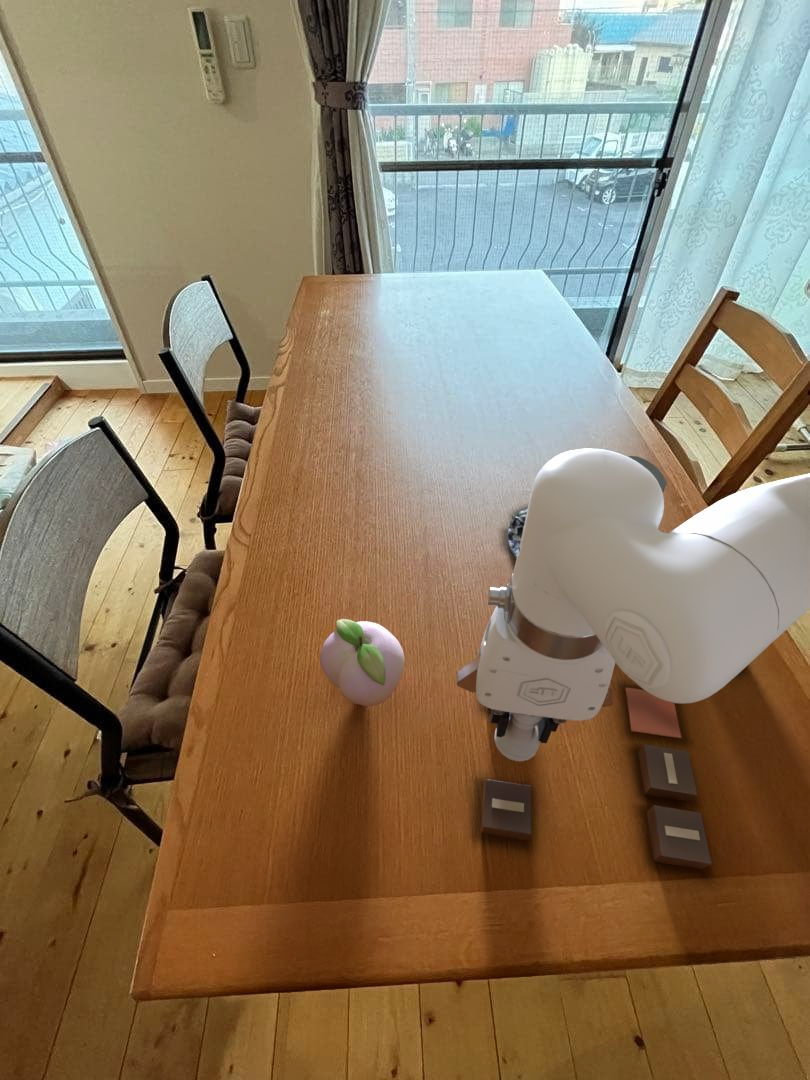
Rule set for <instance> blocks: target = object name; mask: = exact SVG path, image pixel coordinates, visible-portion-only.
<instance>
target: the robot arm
mask: <svg viewBox="0 0 810 1080" xmlns="http://www.w3.org/2000/svg"><path fill="white" fill-rule="evenodd" d="M527 508H528V509H527ZM527 508H526V509H527V514H526V518H525V523H524V528H523V532H522V537H521V541H520V546H519V551H518V555H517V559H516V560H515V565H514V570H513V573H511V575H510V579H509V583H506V584H505V586H499V587H493V586H490V587H489V590H488V597H487V598H488V599H487V605H488V606H490V607H495V608H494V610H493V612H492V614H491V616H490V618H489V621H488V623H487V626H486V628H485V631H484V634H483V637H482V641H481V644H480V648H479V652H478V656H477V657H476V658H474V659H473V660H471V661H470V662H468V663H467V664H466V665H464V666H463V667H462V668H460V669H459V670H457V674H456V675H457V676H456V686H457V687H458V688H461V689H463V690H465V691H468V692H470V693H472V694H473V693H476V694H475V695H476V701H478V703H479V704H481V705H482V706H484V707H485V708H488V709H490V720H489V722H490V724H495V725H496V729H497V737H502V736H505V732H506V729H507V726H508V722H509V717H510V712H513V713H520V714H527V715H534V716H541V717H543V718H542V720H540V721H539V722H538V724H537V729H538V741H540V742H539V743H541V744H547V743H548V742H549V739H550V736H551V733H552V732H553V733H555V732H557V730H558V728H559V725H560V724H565V723H567V721H577V722H578V721H579V722H580V721H581V722H582V721H588V720H591V719H593V718H594V717H596V716H597V715H598V714H599V712H600V711H601V708H608V707H612V706H613V705H614V702H613V694H612V690H611V687H610V685H611V681H612V678H613V674H614V670H615V666H616V665H617V666H618V668H619V669H620V670H621V671H622V672H623V674H625V675H626V676H627V677H628V678H629V679H631V680H632V681H633V682H634V683H636V685H637V686H639V687H640V688H641V689H642V690H645V691H647V692H648V693H650V694H652V695H654V696H656V697H658V698H660V699H662V700H665V701H669V702H673V703H674V704H693V703H696V702H700V701H704V700H705V699H708V698H710V697H711V696H713V695H714V694H716V693H718V692H719V691H720V690H722V689H723V688H724V687H725V686H727V685H728V684H729V683H730V682H731V681H732V680H733V679H735V678H736V677H737V676H738V675H739V674H740V673H741V672H742V671H743V670H744V669H745V668H747V667H748V665H750V664H751V663H752V662H753V661H754V660H755V659H757V657H759V655H761V654H762V653H763V652H764V651H765V650H766V649H767V648H768V647H769V646H770V645H771V644H772V643H774V642H775V641H776V640H777V639H778V638H779V637H781V636H782V634H784V633H785V632H786V631H787V630H788V629H789V628H790V627H791V626H792V625H793V624H794V623H796V622H797V621H798V620H799V619H800V618H801V617H802V616H804V615H805V614H806V613H807V612H808V611H810V473H805V474H801V475H797V476H791V477H788V478H784V479H783V478H782V479H778V480H774V481H770V482H766V483H763V484H758V485H754V486H751V487H748V488H746V489H743V490H739V491H737V492H735V493H732V494H730V495H727V496H725V497H724V498H721V499H720V500H718V501H716V502H715V503H713V504H711V505H709V506H708V507H707V508H704V509H703V510H701V511H699V512H698V513H697V514H695V515H693V516H692V517H690V518H689V519H687V520H685V522H682V523H681V524H680V525H678V527H676V528H674V529H672V530H671V531H670V532H662V531H661V530H660V529H659V527H660V524H661V521H662V519H663V517H664V516H663V515H664V509H665V498H664V492H662V490H661V487H660V485H659V483H658V481H657V480H656V478H655V477H654V476H653V474H652V473H651V472H650V471H649V470H648V469H646V468H645V467H644V466H642V465H641V464H640V463H638V462H637V461H635V460H633V459H631V458H629V457H628V456H627V455H625V454H622V453H619V452H616V451H613V450H609V449H603V448H578V449H571V450H568V451H565V452H562V453H559V454H557V455H555V456H554V457H553V458H551V459H550V460H548V462H546V463H545V464H544V465H543V466H542V468H541V469H540V470H539V471H538V473H537V475H536V476H535V479H534V481H533V485H532V488H531V492H530V496H529V500H528V505H527Z"/></svg>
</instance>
